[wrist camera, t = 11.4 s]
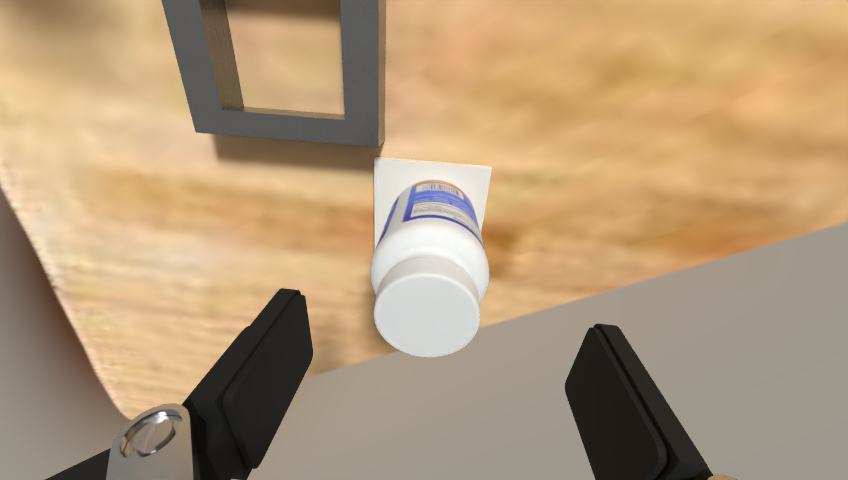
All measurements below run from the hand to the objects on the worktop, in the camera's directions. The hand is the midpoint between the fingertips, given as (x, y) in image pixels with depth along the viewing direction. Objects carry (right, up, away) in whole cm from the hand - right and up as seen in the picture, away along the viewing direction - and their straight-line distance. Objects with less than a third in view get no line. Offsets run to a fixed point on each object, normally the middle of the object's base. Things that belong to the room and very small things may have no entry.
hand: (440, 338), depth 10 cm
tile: (0, +5, +10) cm, 11 cm away
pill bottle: (0, +5, +10) cm, 11 cm away
